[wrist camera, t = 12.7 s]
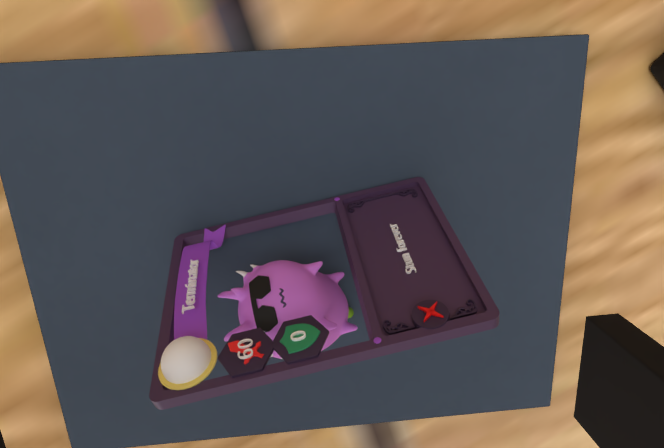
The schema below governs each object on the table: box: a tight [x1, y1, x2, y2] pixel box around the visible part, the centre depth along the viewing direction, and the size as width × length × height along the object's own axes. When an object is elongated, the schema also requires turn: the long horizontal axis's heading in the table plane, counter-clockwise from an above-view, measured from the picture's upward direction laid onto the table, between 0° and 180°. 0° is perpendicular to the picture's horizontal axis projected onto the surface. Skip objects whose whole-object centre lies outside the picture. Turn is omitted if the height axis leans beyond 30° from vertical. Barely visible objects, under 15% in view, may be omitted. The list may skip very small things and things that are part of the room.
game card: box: [149, 177, 499, 410], centre depth 16 cm, size 7×5×9 cm
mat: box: [0, 34, 589, 448], centre depth 18 cm, size 20×15×1 cm
